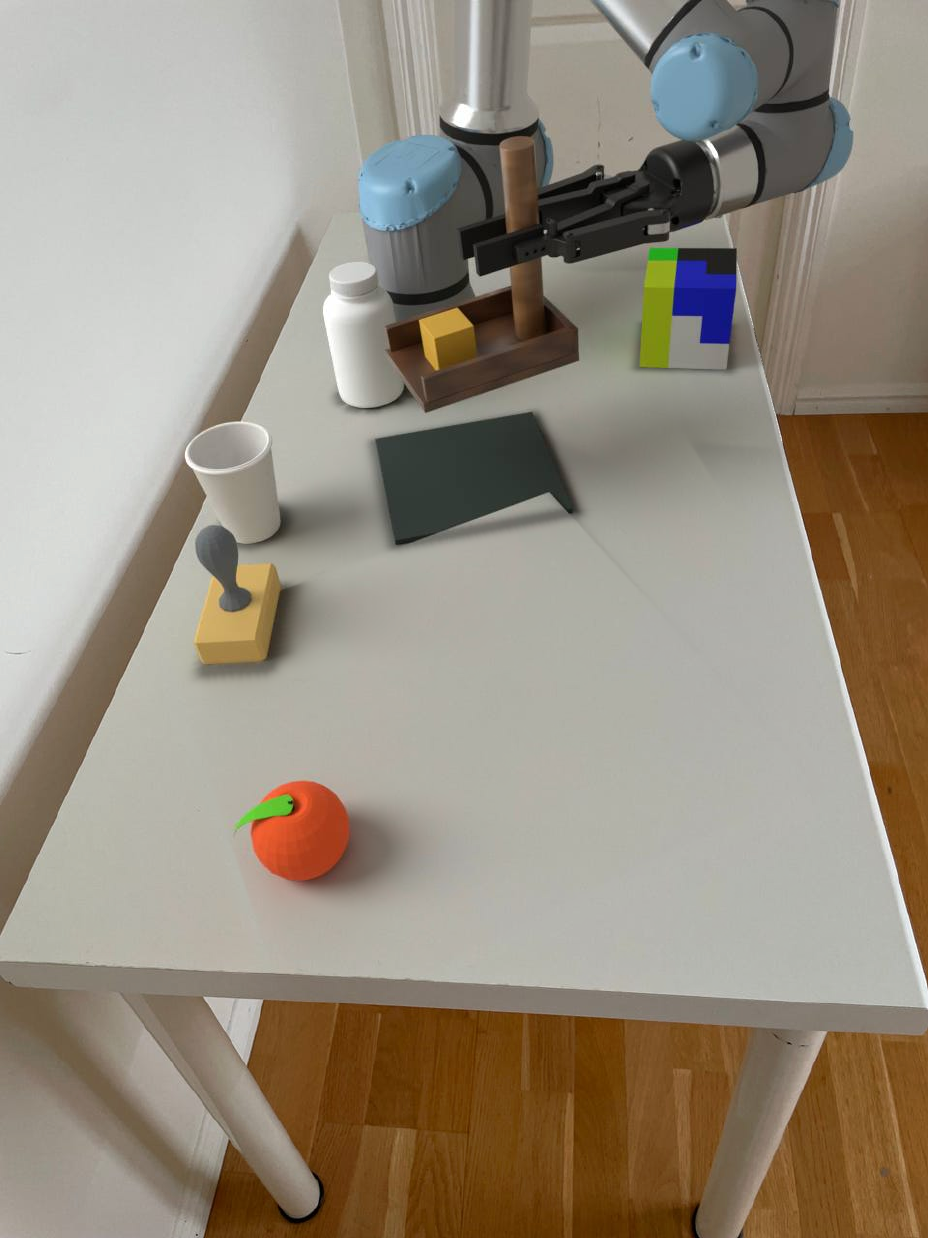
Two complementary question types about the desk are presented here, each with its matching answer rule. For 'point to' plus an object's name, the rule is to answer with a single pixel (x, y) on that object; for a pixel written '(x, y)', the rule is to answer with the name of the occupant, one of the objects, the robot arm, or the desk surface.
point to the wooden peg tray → (494, 313)
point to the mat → (464, 473)
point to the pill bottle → (360, 336)
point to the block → (448, 338)
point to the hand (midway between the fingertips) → (468, 252)
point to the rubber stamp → (234, 602)
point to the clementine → (299, 830)
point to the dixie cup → (238, 478)
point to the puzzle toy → (688, 307)
